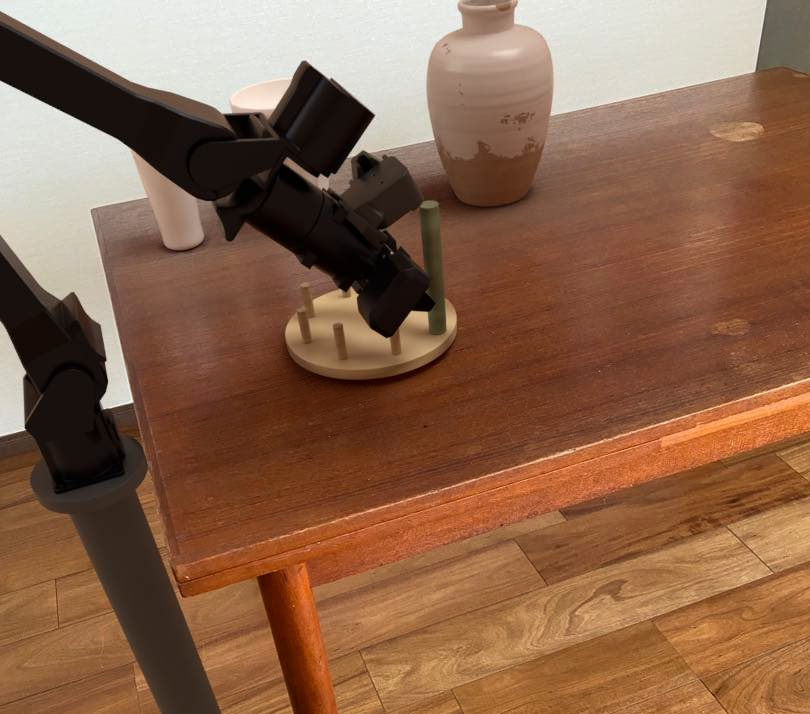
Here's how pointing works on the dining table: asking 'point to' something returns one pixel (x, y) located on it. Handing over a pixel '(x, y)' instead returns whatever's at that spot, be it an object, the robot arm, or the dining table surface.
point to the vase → (490, 103)
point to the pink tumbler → (171, 208)
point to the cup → (265, 101)
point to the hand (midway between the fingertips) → (431, 306)
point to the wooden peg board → (363, 347)
